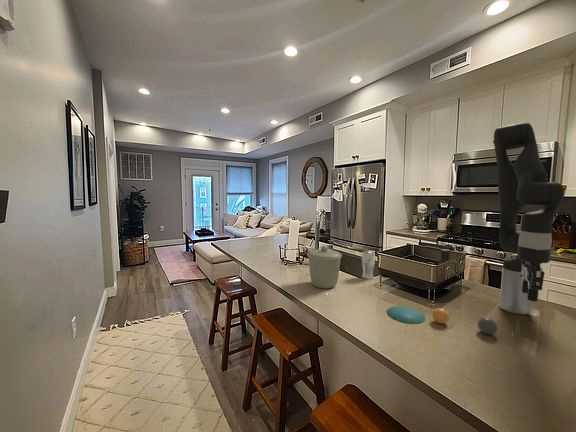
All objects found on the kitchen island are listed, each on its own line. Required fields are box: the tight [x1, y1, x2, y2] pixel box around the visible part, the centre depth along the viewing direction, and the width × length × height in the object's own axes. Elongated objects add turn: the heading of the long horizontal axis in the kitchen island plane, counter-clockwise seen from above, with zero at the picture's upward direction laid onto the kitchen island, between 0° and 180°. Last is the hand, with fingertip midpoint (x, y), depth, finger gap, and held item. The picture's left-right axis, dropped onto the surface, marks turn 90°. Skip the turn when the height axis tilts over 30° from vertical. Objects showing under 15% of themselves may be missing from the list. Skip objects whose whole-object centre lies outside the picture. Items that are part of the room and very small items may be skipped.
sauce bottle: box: [437, 248, 452, 291], centre depth 129 cm, size 6×6×20 cm
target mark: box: [386, 305, 426, 325], centre depth 103 cm, size 14×14×1 cm
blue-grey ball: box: [477, 316, 498, 335], centre depth 89 cm, size 6×6×6 cm
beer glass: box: [361, 250, 376, 280], centre depth 145 cm, size 7×7×15 cm
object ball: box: [431, 307, 450, 325], centre depth 96 cm, size 6×6×6 cm
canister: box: [306, 245, 343, 289], centre depth 134 cm, size 18×18×21 cm
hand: (529, 296), depth 82 cm, fingers open, 6 cm apart
